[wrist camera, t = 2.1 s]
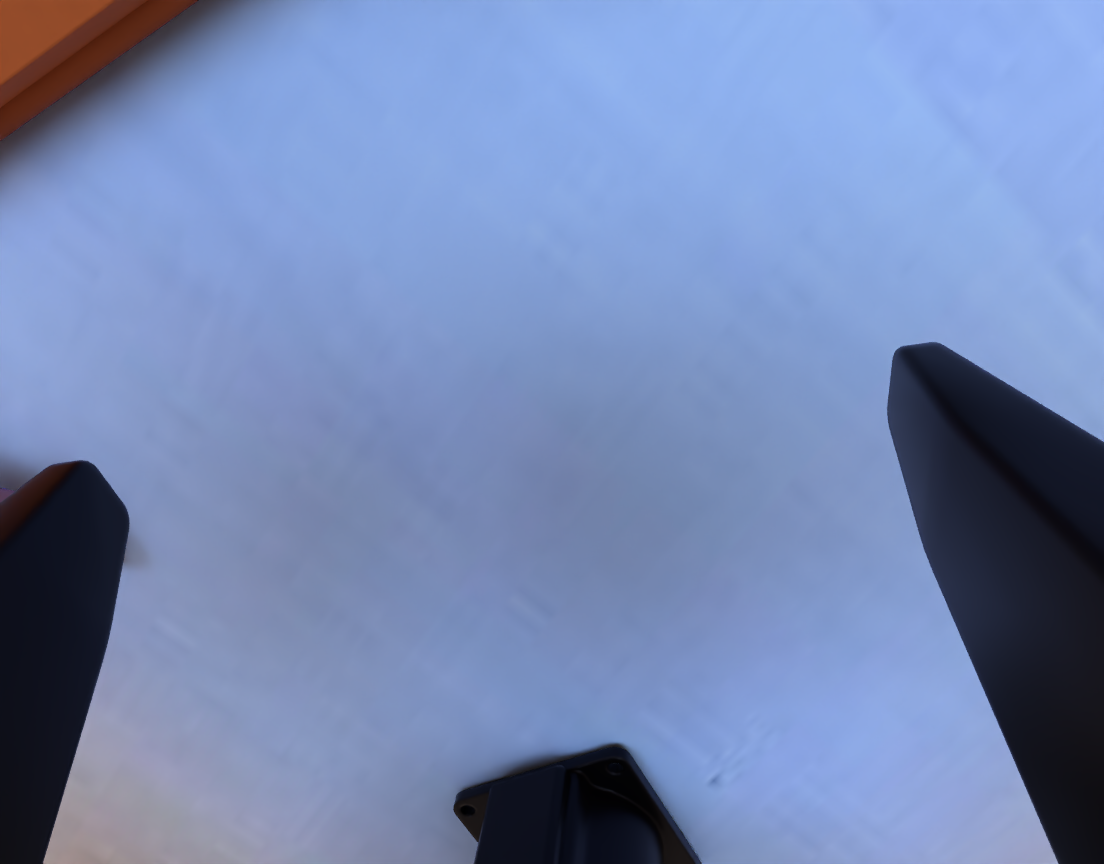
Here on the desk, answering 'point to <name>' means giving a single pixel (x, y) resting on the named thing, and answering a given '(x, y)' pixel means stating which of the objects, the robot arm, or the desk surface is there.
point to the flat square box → (66, 47)
